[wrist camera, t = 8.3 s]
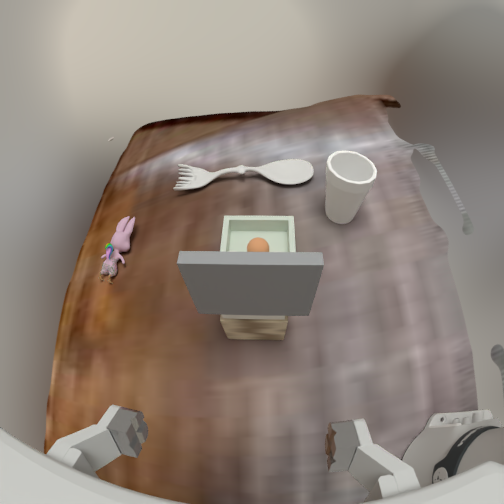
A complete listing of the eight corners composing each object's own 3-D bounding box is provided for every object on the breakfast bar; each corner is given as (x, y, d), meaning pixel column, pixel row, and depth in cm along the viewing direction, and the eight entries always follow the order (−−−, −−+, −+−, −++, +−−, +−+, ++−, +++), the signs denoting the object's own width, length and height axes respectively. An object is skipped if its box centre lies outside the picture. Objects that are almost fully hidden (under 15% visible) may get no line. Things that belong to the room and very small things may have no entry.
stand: (283, 290, 49) (286, 263, 42) (283, 339, 44) (287, 322, 37) (231, 289, 50) (225, 263, 42) (228, 338, 45) (220, 320, 37)
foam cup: (364, 229, 56) (383, 185, 45) (322, 230, 56) (333, 183, 45) (354, 196, 61) (367, 151, 50) (315, 196, 61) (323, 149, 50)
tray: (292, 229, 56) (293, 216, 53) (294, 288, 49) (296, 277, 46) (226, 228, 57) (224, 215, 54) (220, 287, 50) (217, 276, 47)
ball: (269, 237, 53) (269, 237, 49) (269, 259, 53) (269, 260, 49) (247, 237, 53) (246, 237, 49) (247, 258, 53) (245, 260, 49)
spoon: (180, 172, 68) (177, 162, 65) (308, 163, 68) (309, 152, 65) (175, 198, 63) (172, 187, 60) (316, 188, 63) (317, 177, 60)
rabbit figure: (122, 288, 52) (146, 222, 58) (107, 278, 47) (135, 207, 52) (99, 281, 53) (124, 218, 59) (83, 271, 48) (111, 204, 53)
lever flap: (307, 319, 36) (323, 265, 26) (200, 317, 37) (176, 263, 27) (303, 263, 41) (314, 200, 32) (208, 262, 42) (192, 200, 33)
